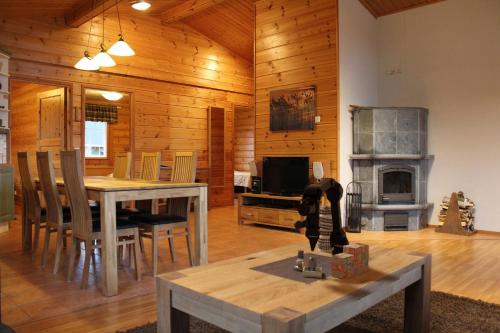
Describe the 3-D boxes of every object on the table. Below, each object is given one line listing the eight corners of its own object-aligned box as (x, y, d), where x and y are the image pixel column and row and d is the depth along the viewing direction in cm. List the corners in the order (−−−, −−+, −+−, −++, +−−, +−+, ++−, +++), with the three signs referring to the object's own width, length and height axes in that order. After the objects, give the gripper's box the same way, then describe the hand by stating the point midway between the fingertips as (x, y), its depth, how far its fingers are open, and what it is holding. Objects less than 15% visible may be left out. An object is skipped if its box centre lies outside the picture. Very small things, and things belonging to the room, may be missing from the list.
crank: (303, 266, 200) (303, 255, 200) (296, 266, 200) (296, 255, 200) (304, 261, 211) (304, 250, 210) (297, 260, 211) (297, 250, 211)
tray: (321, 272, 196) (321, 267, 196) (321, 277, 188) (321, 272, 188) (303, 271, 197) (303, 266, 197) (302, 276, 189) (302, 270, 189)
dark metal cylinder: (316, 272, 194) (316, 256, 194) (316, 274, 191) (316, 258, 190) (308, 272, 195) (308, 256, 195) (308, 274, 191) (308, 258, 191)
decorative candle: (317, 248, 249) (317, 205, 249) (333, 249, 248) (334, 205, 247) (317, 251, 240) (317, 206, 240) (334, 252, 239) (334, 207, 238)
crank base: (306, 268, 204) (306, 259, 204) (305, 271, 198) (306, 262, 198) (293, 267, 205) (293, 259, 205) (292, 270, 199) (292, 262, 199)
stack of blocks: (343, 279, 186) (343, 250, 186) (330, 276, 191) (331, 248, 190) (368, 270, 201) (369, 244, 201) (356, 268, 206) (357, 242, 206)
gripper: (296, 211, 203) (295, 244, 203) (293, 216, 184) (292, 252, 184) (320, 211, 201) (319, 245, 201) (320, 217, 182) (319, 254, 183)
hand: (312, 249), depth 192 cm, fingers open, 9 cm apart
